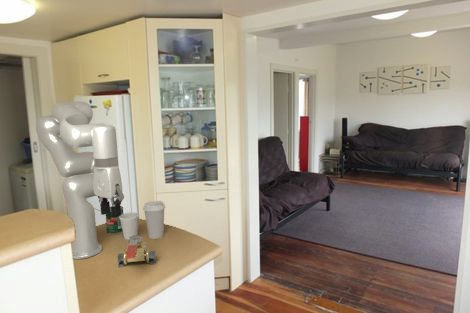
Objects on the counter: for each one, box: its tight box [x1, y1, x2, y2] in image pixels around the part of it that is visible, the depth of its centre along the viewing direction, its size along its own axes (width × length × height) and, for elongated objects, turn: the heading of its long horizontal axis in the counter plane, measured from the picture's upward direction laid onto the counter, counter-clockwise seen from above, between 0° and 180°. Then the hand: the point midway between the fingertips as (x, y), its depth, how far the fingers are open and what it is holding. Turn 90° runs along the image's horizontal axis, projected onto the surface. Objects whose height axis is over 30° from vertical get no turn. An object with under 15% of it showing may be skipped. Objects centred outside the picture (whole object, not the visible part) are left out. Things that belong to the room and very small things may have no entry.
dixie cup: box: [119, 212, 140, 240], centre depth 148 cm, size 8×8×10 cm
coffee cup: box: [142, 200, 166, 240], centre depth 149 cm, size 10×10×15 cm
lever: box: [125, 234, 143, 259], centre depth 118 cm, size 4×15×2 cm, turn 9°
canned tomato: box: [105, 205, 124, 235], centre depth 156 cm, size 8×8×11 cm
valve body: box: [117, 240, 157, 268], centre depth 124 cm, size 13×6×8 cm, turn 99°
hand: (111, 214), depth 114 cm, fingers open, 5 cm apart
